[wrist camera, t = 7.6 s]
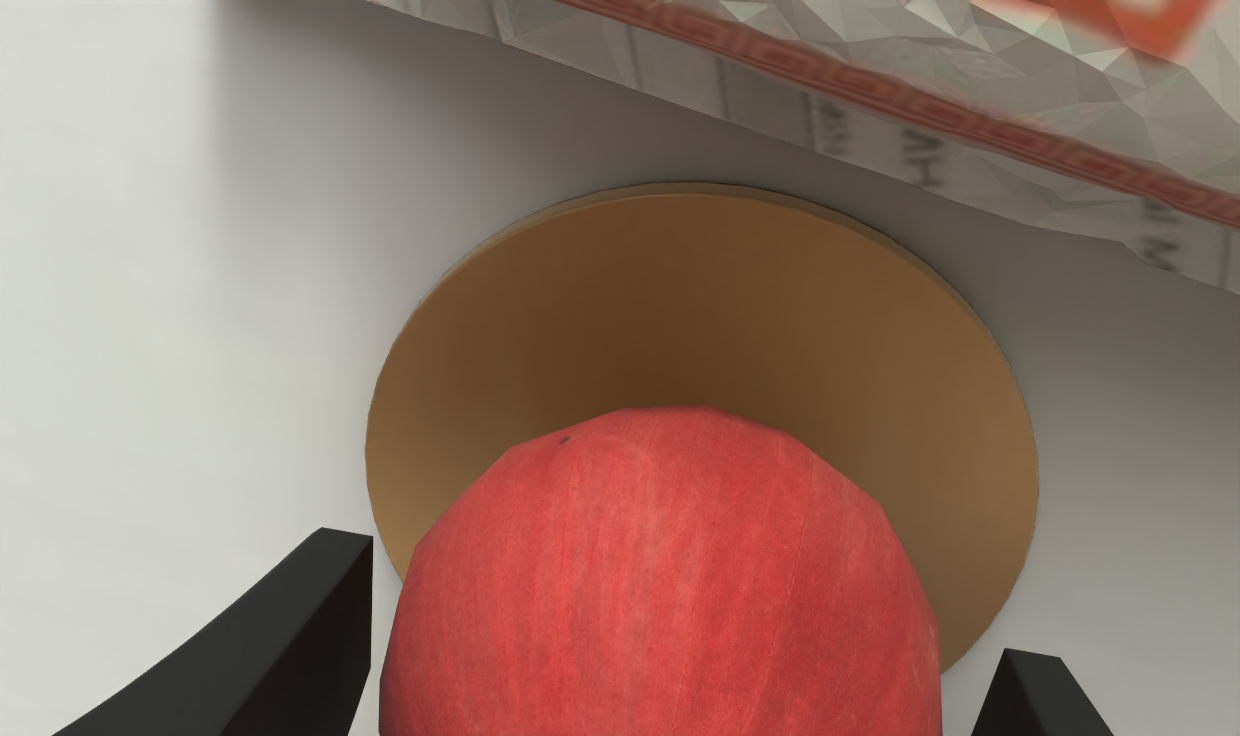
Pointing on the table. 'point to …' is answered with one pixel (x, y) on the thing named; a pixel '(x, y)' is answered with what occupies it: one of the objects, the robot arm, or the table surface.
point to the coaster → (720, 369)
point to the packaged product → (949, 97)
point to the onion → (662, 594)
